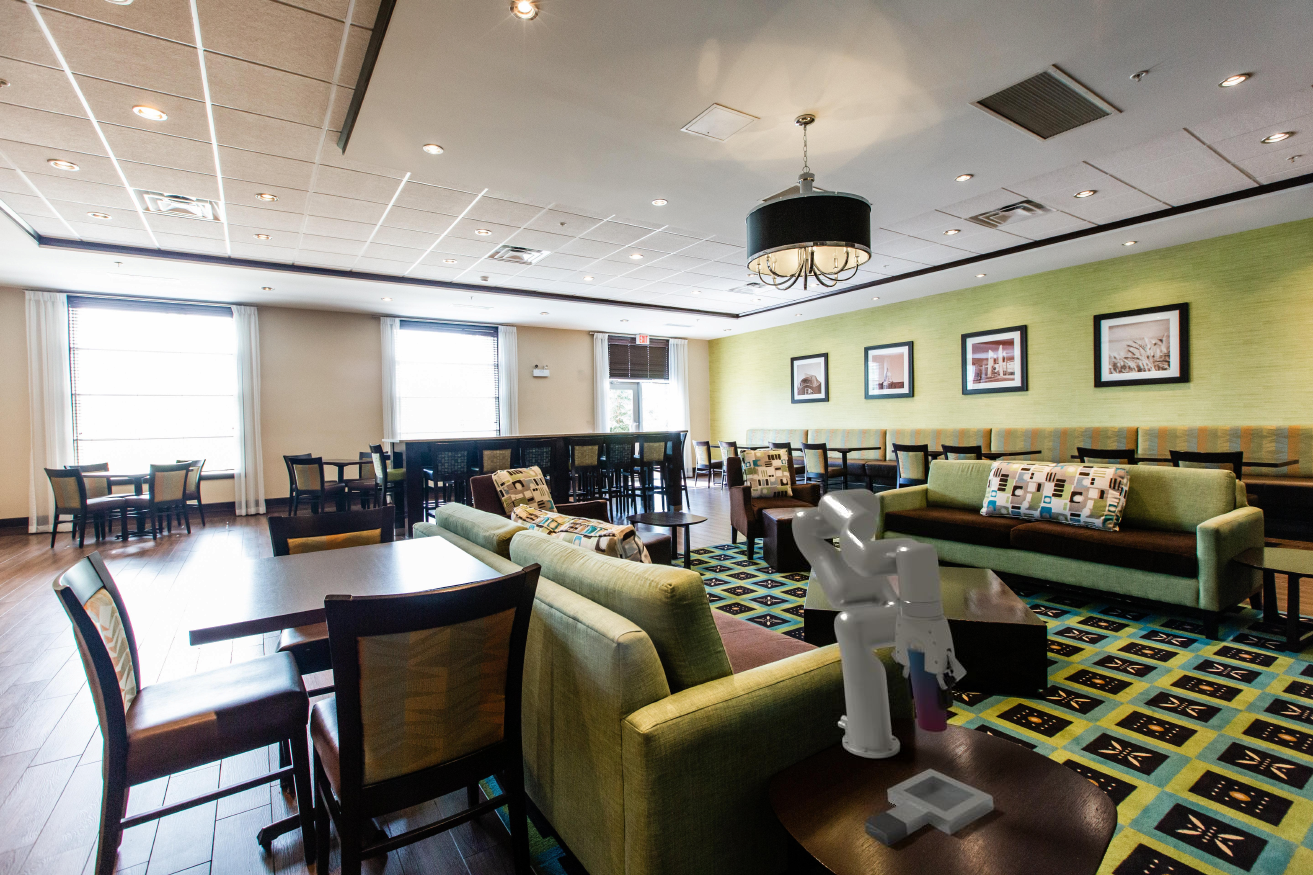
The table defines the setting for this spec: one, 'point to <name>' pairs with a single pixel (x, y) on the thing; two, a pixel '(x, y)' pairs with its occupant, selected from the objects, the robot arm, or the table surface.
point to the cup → (926, 694)
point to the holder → (928, 807)
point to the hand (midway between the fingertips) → (930, 701)
